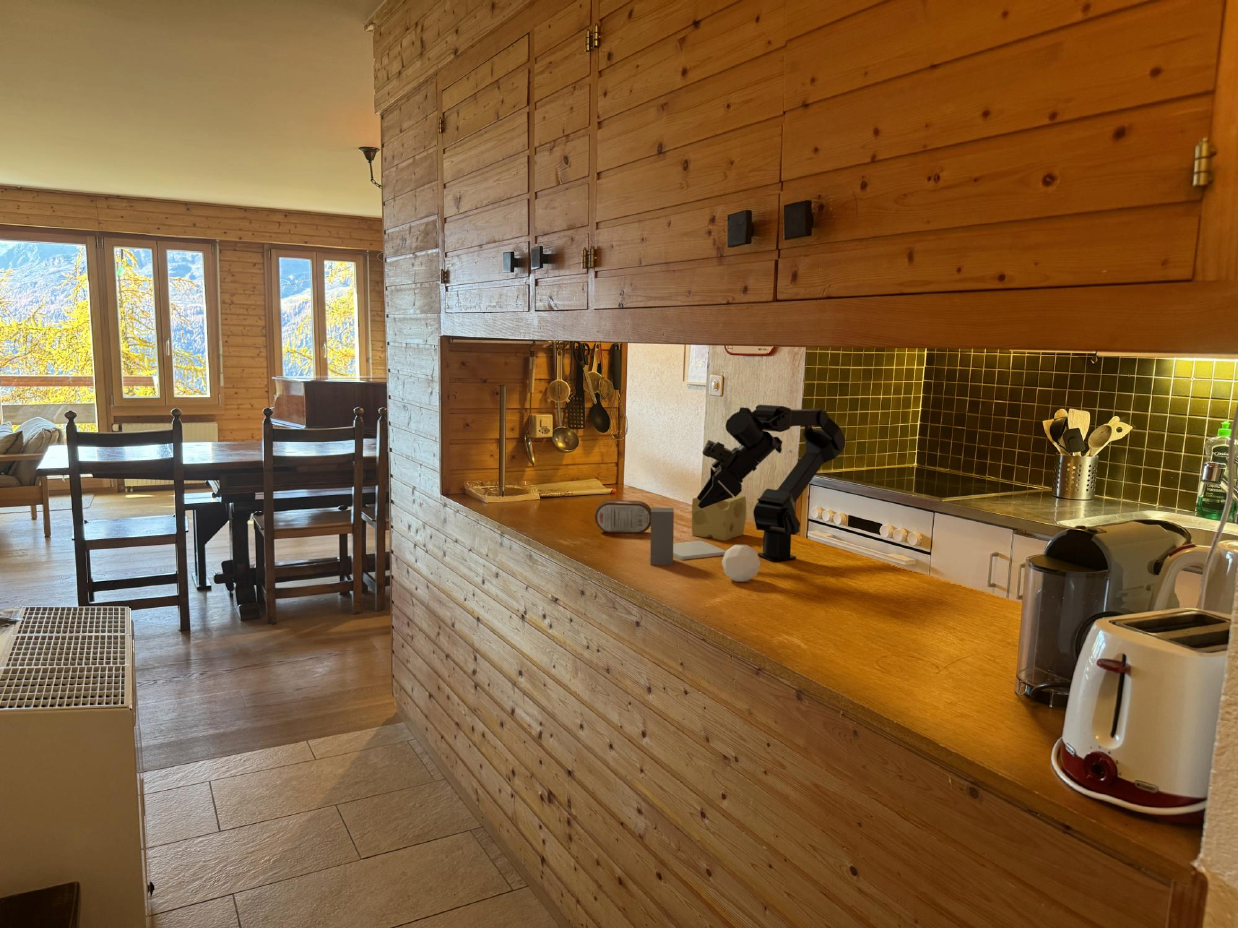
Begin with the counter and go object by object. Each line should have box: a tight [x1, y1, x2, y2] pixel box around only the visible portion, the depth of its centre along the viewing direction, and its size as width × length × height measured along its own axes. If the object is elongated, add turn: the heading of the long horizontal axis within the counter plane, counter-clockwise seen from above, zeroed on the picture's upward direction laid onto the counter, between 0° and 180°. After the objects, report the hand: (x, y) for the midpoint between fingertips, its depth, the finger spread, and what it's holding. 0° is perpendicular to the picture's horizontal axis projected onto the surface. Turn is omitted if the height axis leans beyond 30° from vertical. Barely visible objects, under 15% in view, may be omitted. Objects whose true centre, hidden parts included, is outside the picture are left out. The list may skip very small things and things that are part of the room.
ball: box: [721, 544, 761, 583], centre depth 180 cm, size 8×8×8 cm
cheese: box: [691, 495, 747, 542], centre depth 222 cm, size 10×11×10 cm
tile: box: [673, 540, 726, 561], centre depth 205 cm, size 12×12×1 cm
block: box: [649, 506, 675, 566], centre depth 194 cm, size 5×5×12 cm
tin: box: [594, 499, 651, 535], centre depth 225 cm, size 15×3×8 cm, turn 84°
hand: (698, 503), depth 193 cm, fingers open, 9 cm apart
